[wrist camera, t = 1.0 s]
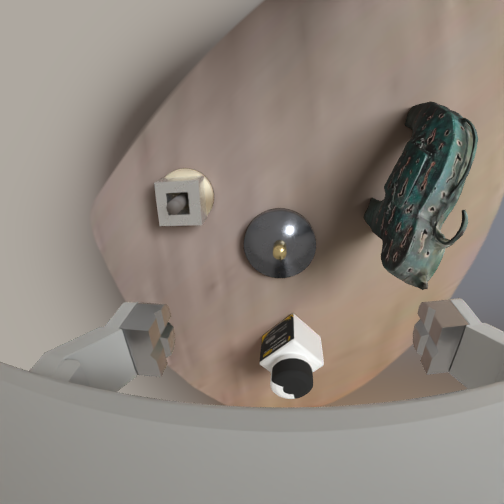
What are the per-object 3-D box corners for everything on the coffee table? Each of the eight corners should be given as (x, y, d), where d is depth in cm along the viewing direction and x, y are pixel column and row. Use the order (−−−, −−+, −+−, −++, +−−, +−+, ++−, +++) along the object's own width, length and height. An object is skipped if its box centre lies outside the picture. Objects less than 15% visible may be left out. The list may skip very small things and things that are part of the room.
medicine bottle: (292, 311, 51) (293, 363, 40) (321, 336, 52) (327, 388, 41) (261, 335, 53) (255, 387, 42) (290, 358, 55) (289, 410, 44)
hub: (243, 208, 45) (239, 217, 41) (316, 208, 44) (319, 217, 40) (246, 273, 49) (243, 286, 45) (313, 273, 48) (315, 286, 44)
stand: (157, 170, 43) (140, 178, 38) (212, 166, 43) (201, 174, 37) (163, 223, 47) (148, 238, 41) (216, 222, 46) (206, 237, 40)
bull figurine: (383, 238, 45) (436, 317, 26) (345, 222, 44) (384, 297, 26) (438, 116, 36) (529, 128, 18) (400, 94, 36) (481, 87, 18)
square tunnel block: (162, 178, 43) (154, 182, 40) (203, 175, 42) (198, 180, 40) (166, 219, 45) (159, 226, 43) (207, 218, 45) (202, 225, 42)
